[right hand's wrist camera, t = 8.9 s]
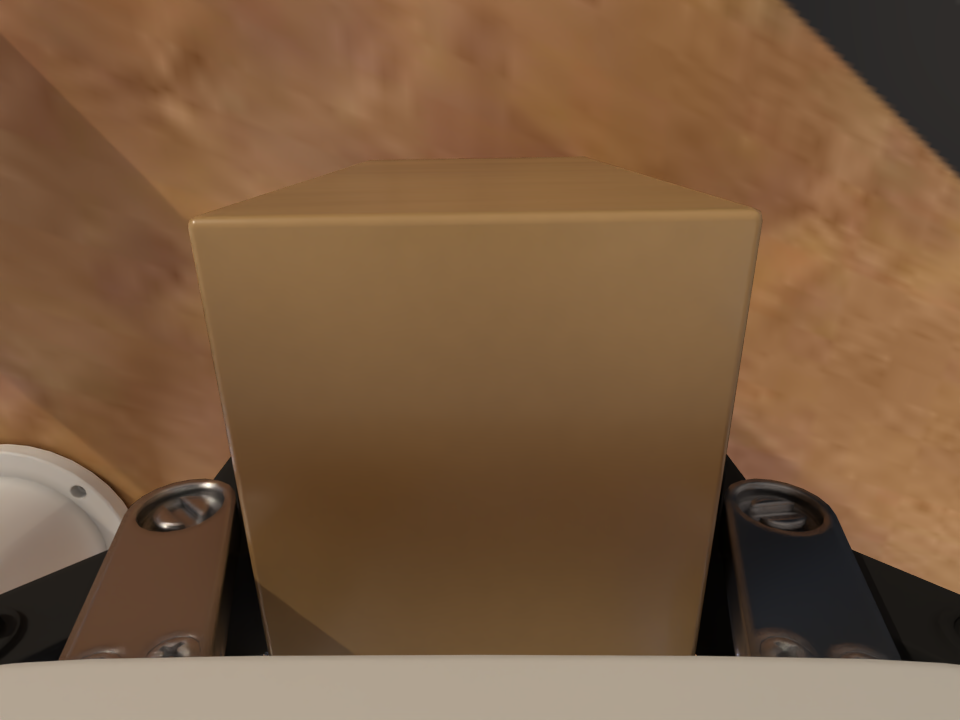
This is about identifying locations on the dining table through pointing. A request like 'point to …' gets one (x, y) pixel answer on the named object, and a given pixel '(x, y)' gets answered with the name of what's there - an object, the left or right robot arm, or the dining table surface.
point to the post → (478, 402)
